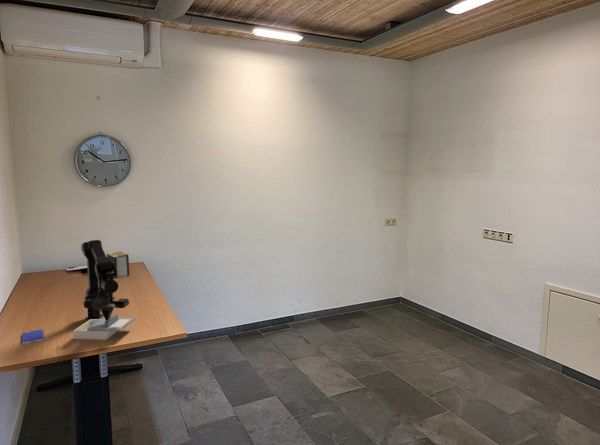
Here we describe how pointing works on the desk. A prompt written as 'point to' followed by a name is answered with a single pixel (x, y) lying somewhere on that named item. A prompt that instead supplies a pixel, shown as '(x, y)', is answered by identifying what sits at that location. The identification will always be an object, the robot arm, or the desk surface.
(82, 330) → the box
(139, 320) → the desk surface
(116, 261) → the protein box
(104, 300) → the robot arm
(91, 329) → the lid
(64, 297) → the desk surface
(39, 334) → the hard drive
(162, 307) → the desk surface
